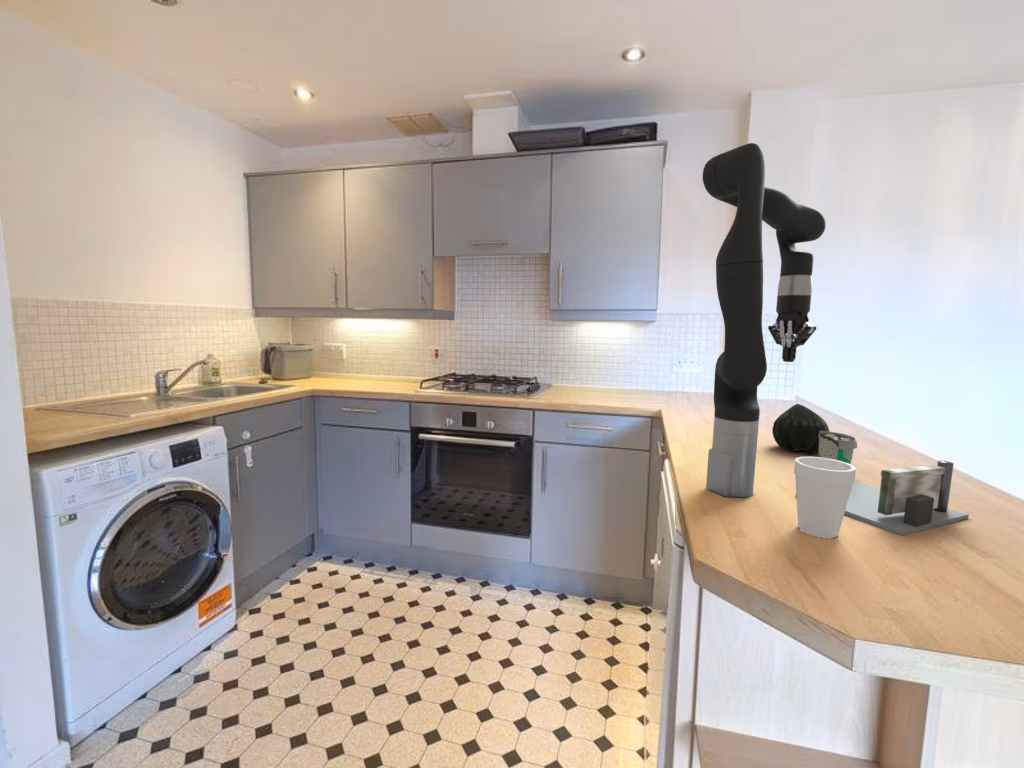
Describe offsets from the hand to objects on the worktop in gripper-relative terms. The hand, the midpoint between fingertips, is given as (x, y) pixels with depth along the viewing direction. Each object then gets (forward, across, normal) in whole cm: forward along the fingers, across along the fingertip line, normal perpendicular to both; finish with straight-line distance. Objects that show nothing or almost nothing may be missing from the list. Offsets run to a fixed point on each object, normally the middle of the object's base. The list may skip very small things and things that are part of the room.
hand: (788, 361), depth 122 cm
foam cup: (+29, -32, +25) cm, 50 cm away
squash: (+29, +14, -23) cm, 40 cm away
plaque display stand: (+29, -27, +2) cm, 39 cm away
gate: (+27, -33, +2) cm, 43 cm away
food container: (+29, -7, -13) cm, 33 cm away
